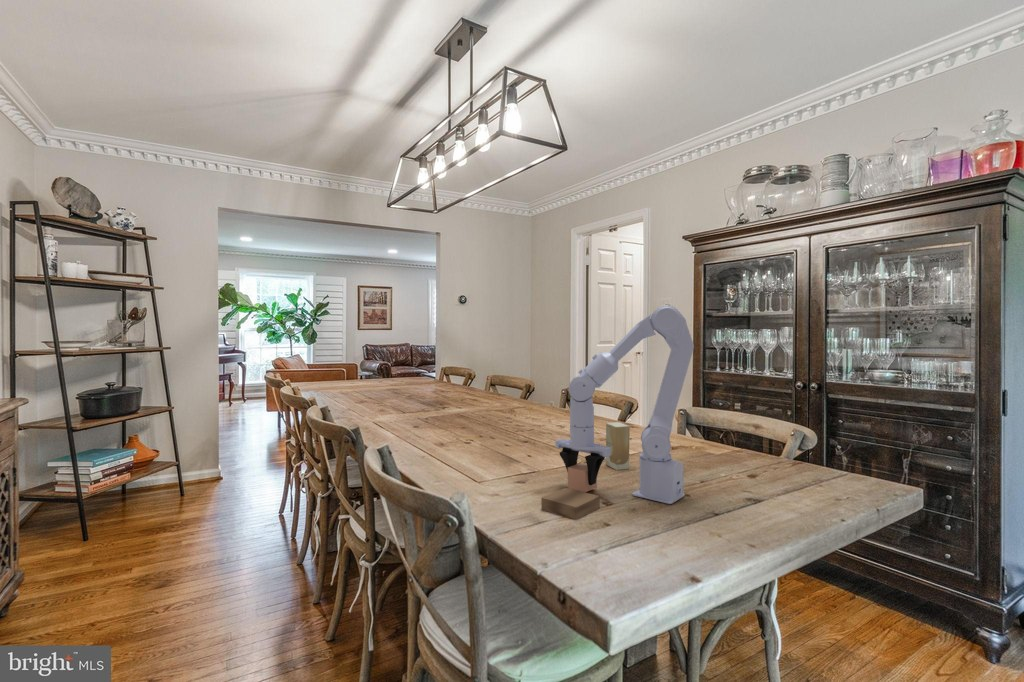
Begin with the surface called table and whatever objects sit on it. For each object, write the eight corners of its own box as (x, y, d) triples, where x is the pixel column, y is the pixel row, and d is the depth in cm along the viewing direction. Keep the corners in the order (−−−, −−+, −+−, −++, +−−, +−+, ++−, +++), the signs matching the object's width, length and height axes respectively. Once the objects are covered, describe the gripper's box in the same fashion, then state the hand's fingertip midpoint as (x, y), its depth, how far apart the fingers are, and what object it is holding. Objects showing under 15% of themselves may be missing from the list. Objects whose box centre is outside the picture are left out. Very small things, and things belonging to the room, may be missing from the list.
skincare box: (605, 464, 142) (605, 422, 141) (618, 463, 143) (618, 421, 143) (616, 470, 135) (616, 426, 135) (630, 469, 137) (630, 425, 137)
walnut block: (599, 509, 107) (599, 496, 107) (576, 522, 100) (576, 507, 100) (565, 500, 113) (565, 487, 113) (541, 511, 106) (541, 497, 106)
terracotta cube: (596, 487, 119) (596, 466, 119) (585, 492, 115) (585, 471, 115) (579, 483, 122) (579, 463, 122) (567, 488, 118) (567, 467, 118)
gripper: (617, 426, 116) (617, 483, 117) (566, 420, 126) (567, 472, 126) (601, 431, 111) (601, 491, 111) (550, 423, 121) (550, 478, 121)
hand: (582, 481), depth 118 cm, fingers closed on terracotta cube, 5 cm apart
